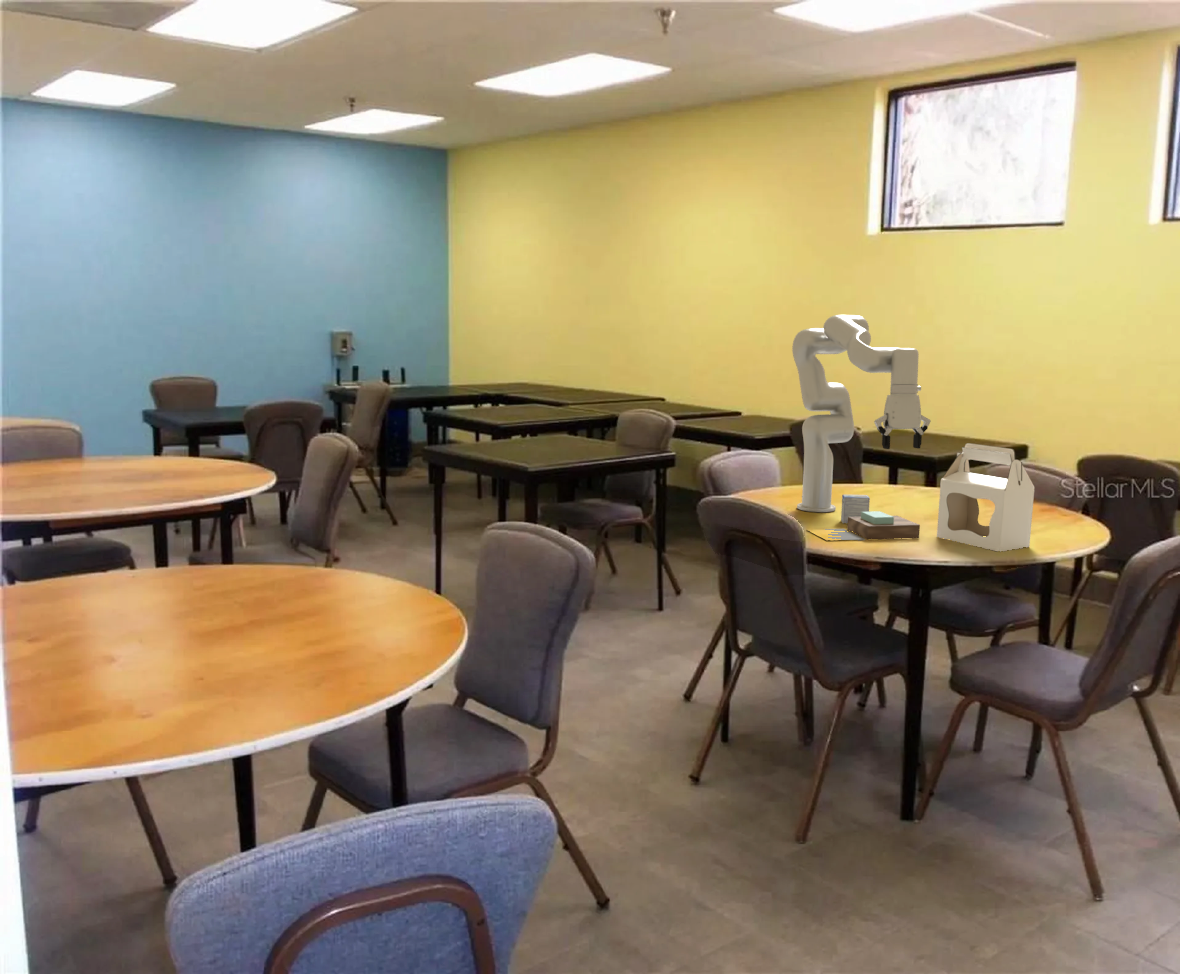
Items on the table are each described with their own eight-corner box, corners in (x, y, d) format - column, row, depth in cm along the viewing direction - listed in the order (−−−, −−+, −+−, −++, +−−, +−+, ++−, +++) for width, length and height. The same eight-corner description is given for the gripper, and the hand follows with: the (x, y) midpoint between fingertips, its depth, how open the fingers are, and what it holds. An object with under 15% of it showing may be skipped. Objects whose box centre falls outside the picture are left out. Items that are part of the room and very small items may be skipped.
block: (860, 518, 307) (861, 511, 307) (879, 517, 309) (879, 511, 308) (874, 524, 299) (874, 517, 298) (893, 523, 300) (894, 517, 299)
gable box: (935, 537, 301) (942, 442, 297) (965, 532, 308) (972, 440, 304) (1000, 552, 283) (1008, 452, 278) (1030, 547, 290) (1039, 449, 285)
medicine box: (866, 521, 323) (867, 494, 321) (868, 524, 318) (870, 497, 317) (840, 521, 324) (842, 494, 322) (842, 523, 319) (844, 496, 318)
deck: (847, 529, 310) (847, 516, 309) (896, 528, 313) (897, 515, 312) (867, 539, 296) (868, 526, 296) (918, 538, 299) (919, 524, 299)
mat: (806, 530, 308) (806, 529, 308) (843, 529, 310) (843, 528, 310) (826, 541, 294) (826, 540, 293) (865, 540, 296) (865, 539, 296)
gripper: (924, 389, 306) (922, 446, 308) (870, 390, 303) (868, 447, 305) (937, 390, 299) (934, 449, 301) (882, 391, 296) (879, 450, 298)
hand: (901, 448), depth 303 cm, fingers open, 9 cm apart
